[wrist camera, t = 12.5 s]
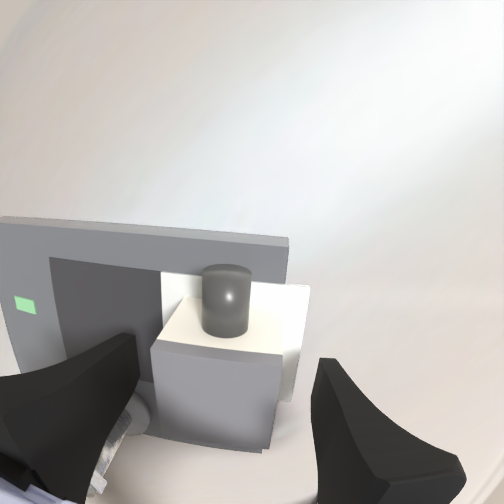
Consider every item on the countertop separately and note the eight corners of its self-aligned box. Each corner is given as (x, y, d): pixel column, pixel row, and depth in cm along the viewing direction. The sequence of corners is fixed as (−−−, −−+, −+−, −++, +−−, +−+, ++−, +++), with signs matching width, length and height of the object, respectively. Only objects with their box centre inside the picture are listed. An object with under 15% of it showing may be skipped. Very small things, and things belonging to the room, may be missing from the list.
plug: (272, 383, 14) (268, 449, 10) (187, 373, 14) (161, 433, 10) (288, 258, 12) (291, 304, 8) (184, 249, 13) (145, 289, 9)
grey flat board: (279, 436, 17) (278, 462, 15) (39, 382, 18) (24, 399, 16) (311, 239, 14) (316, 254, 12) (4, 216, 15) (-20, 224, 13)
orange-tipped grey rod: (122, 400, 14) (77, 475, 9) (139, 426, 15) (103, 501, 10) (-4, 399, 17) (-41, 439, 12) (10, 419, 17) (-24, 460, 12)
